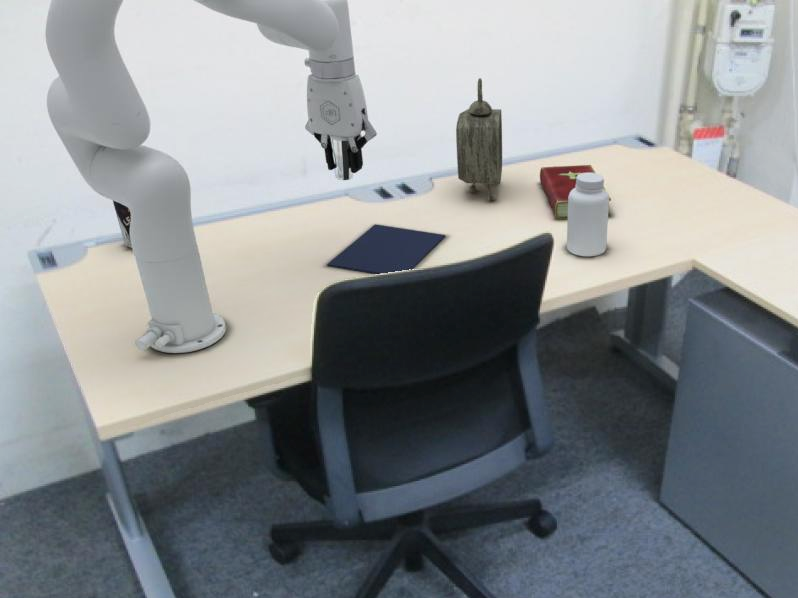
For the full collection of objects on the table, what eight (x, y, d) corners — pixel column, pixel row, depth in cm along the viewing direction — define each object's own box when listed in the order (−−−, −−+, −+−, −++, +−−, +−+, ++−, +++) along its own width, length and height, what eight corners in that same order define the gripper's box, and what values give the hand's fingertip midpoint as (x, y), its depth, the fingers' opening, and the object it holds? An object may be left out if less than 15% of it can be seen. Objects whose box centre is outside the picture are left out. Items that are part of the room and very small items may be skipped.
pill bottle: (614, 248, 181) (618, 176, 172) (588, 261, 176) (591, 187, 167) (584, 237, 185) (587, 166, 177) (558, 249, 180) (560, 177, 172)
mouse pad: (402, 278, 169) (402, 276, 169) (327, 265, 173) (327, 263, 173) (445, 236, 185) (445, 234, 185) (375, 226, 189) (375, 224, 189)
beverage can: (125, 252, 178) (109, 194, 171) (125, 240, 182) (109, 183, 175) (156, 248, 179) (141, 190, 172) (155, 236, 184) (140, 180, 177)
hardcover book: (555, 219, 193) (555, 200, 190) (539, 183, 210) (539, 166, 207) (609, 216, 194) (611, 197, 192) (590, 181, 211) (590, 163, 209)
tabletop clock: (499, 204, 199) (497, 89, 185) (458, 204, 199) (453, 88, 185) (502, 180, 211) (500, 70, 197) (464, 180, 211) (459, 70, 197)
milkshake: (355, 183, 167) (353, 130, 161) (328, 179, 167) (324, 126, 162) (364, 175, 170) (362, 122, 165) (337, 171, 171) (334, 118, 165)
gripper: (279, 69, 157) (295, 170, 167) (366, 77, 153) (376, 181, 163) (301, 58, 163) (315, 157, 173) (386, 66, 158) (395, 167, 169)
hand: (345, 168), depth 168 cm, fingers closed on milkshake, 4 cm apart
